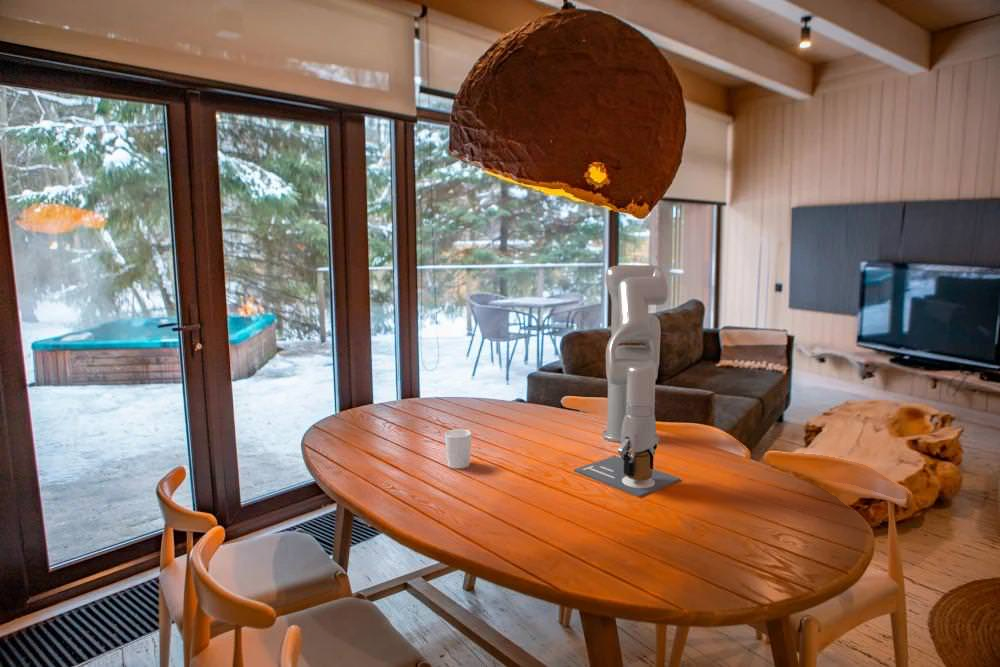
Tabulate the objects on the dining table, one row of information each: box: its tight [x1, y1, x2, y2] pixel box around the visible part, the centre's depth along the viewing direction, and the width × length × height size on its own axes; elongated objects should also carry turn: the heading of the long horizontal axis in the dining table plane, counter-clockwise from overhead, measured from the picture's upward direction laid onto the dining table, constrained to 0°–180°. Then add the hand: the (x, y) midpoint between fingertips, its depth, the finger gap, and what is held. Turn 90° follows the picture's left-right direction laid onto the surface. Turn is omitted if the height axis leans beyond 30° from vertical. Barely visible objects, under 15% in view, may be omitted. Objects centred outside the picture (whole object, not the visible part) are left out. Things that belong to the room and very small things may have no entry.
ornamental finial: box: [626, 449, 653, 481], centre depth 173 cm, size 8×8×8 cm
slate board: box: [573, 455, 681, 498], centre depth 179 cm, size 18×24×1 cm
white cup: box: [444, 428, 472, 470], centre depth 188 cm, size 8×8×10 cm
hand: (638, 471), depth 173 cm, fingers closed on ornamental finial, 7 cm apart
